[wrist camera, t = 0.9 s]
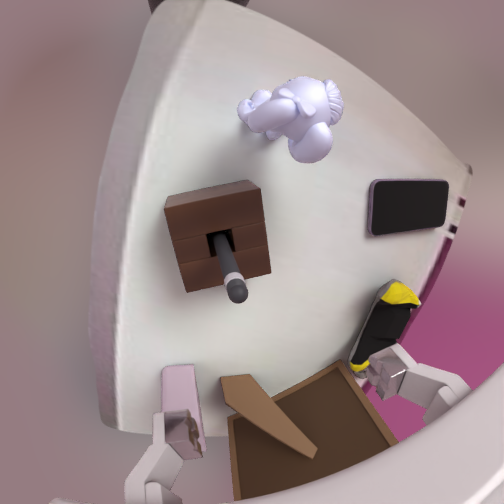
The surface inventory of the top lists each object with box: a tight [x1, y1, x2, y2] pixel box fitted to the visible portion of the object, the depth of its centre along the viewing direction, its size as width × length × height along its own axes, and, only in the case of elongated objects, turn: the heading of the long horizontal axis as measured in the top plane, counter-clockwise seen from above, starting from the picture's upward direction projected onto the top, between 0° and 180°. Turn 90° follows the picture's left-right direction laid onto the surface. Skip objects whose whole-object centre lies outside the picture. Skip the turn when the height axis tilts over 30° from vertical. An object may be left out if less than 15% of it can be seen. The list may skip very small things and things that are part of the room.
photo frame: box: [220, 360, 399, 501], centre depth 29 cm, size 15×22×25 cm
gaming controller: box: [348, 279, 421, 372], centre depth 37 cm, size 15×6×10 cm
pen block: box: [164, 180, 271, 293], centre depth 26 cm, size 8×8×5 cm
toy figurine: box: [237, 76, 344, 163], centre depth 20 cm, size 7×6×12 cm
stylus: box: [211, 230, 248, 303], centre depth 22 cm, size 1×1×14 cm
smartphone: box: [368, 179, 449, 236], centre depth 33 cm, size 7×1×15 cm
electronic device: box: [161, 364, 207, 452], centre depth 32 cm, size 10×5×10 cm, turn 178°
